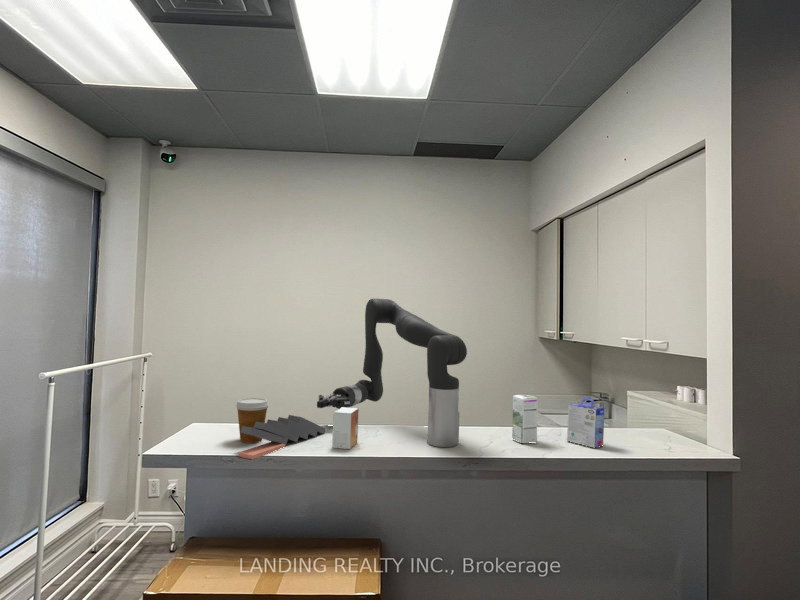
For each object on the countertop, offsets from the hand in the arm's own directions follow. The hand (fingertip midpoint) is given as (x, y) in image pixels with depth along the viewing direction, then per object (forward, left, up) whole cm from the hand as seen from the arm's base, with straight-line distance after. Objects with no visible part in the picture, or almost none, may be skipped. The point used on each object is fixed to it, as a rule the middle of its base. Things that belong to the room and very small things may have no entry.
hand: (319, 404), depth 160 cm
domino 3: (+12, +3, -8) cm, 15 cm away
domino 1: (+17, +3, -8) cm, 19 cm away
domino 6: (0, 0, -8) cm, 8 cm away
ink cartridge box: (-52, +68, -9) cm, 86 cm away
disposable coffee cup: (+21, -6, -9) cm, 23 cm away
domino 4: (+8, +2, -8) cm, 12 cm away
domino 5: (+4, +1, -8) cm, 9 cm away
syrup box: (-40, +53, -9) cm, 67 cm away
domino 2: (+19, +4, -9) cm, 21 cm away
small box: (+4, +17, -9) cm, 19 cm away
